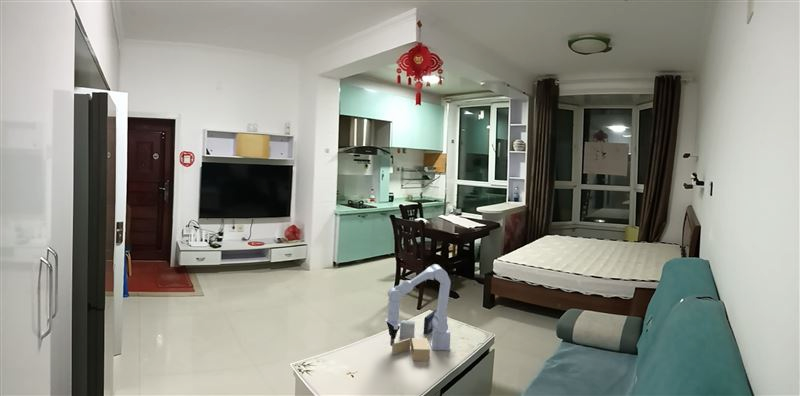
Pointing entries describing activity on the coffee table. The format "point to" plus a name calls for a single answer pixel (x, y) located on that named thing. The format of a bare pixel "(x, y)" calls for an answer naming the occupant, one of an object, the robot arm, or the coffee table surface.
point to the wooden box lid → (400, 346)
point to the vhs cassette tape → (429, 323)
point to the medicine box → (407, 329)
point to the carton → (420, 349)
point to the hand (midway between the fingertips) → (392, 336)
